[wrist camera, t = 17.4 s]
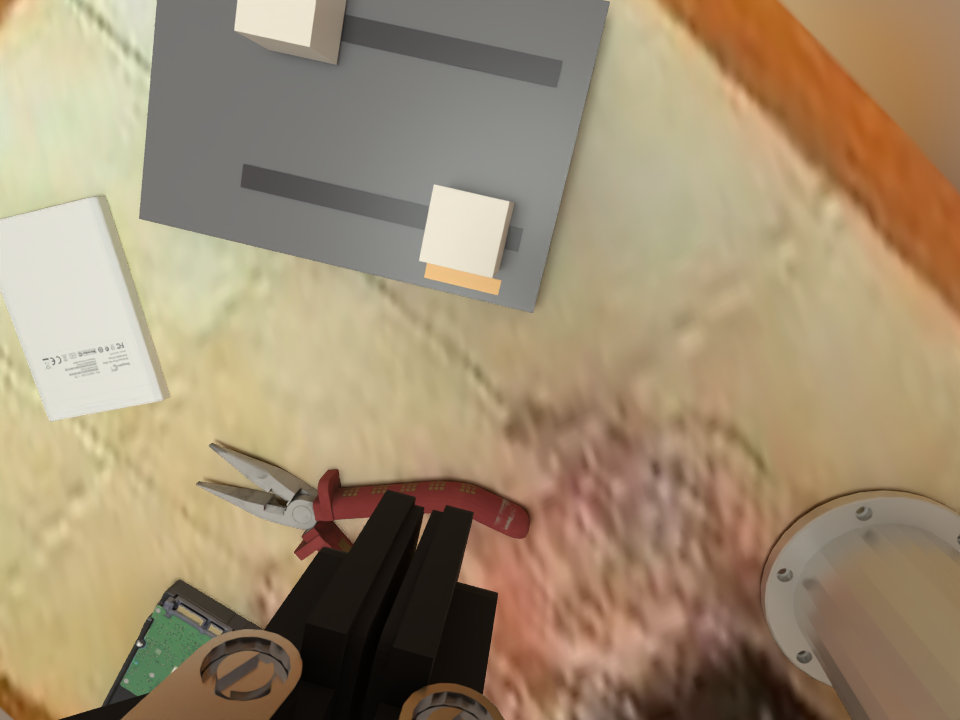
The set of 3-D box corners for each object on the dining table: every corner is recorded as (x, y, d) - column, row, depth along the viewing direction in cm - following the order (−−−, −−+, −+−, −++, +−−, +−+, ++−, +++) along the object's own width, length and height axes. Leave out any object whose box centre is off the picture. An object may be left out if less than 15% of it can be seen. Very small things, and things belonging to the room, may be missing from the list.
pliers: (237, 377, 39) (215, 389, 37) (537, 504, 39) (536, 525, 36) (191, 529, 42) (168, 550, 40) (469, 648, 42) (463, 677, 39)
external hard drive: (113, 196, 38) (176, 394, 40) (-5, 225, 39) (63, 415, 41) (94, 195, 36) (160, 401, 38) (-28, 225, 37) (44, 423, 40)
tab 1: (348, -13, 30) (322, -42, 27) (336, 65, 31) (309, 46, 28) (278, -28, 30) (243, -58, 27) (269, 50, 31) (234, 30, 28)
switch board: (605, 17, 32) (610, 1, 29) (534, 306, 35) (533, 313, 33) (193, -69, 33) (163, -92, 31) (166, 218, 37) (138, 218, 34)
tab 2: (514, 202, 32) (509, 201, 28) (498, 271, 32) (492, 278, 29) (446, 187, 32) (433, 184, 28) (433, 255, 33) (418, 260, 29)
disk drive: (225, 788, 47) (310, 649, 43) (205, 824, 44) (293, 679, 40) (105, 718, 47) (179, 571, 43) (77, 749, 44) (153, 596, 40)
